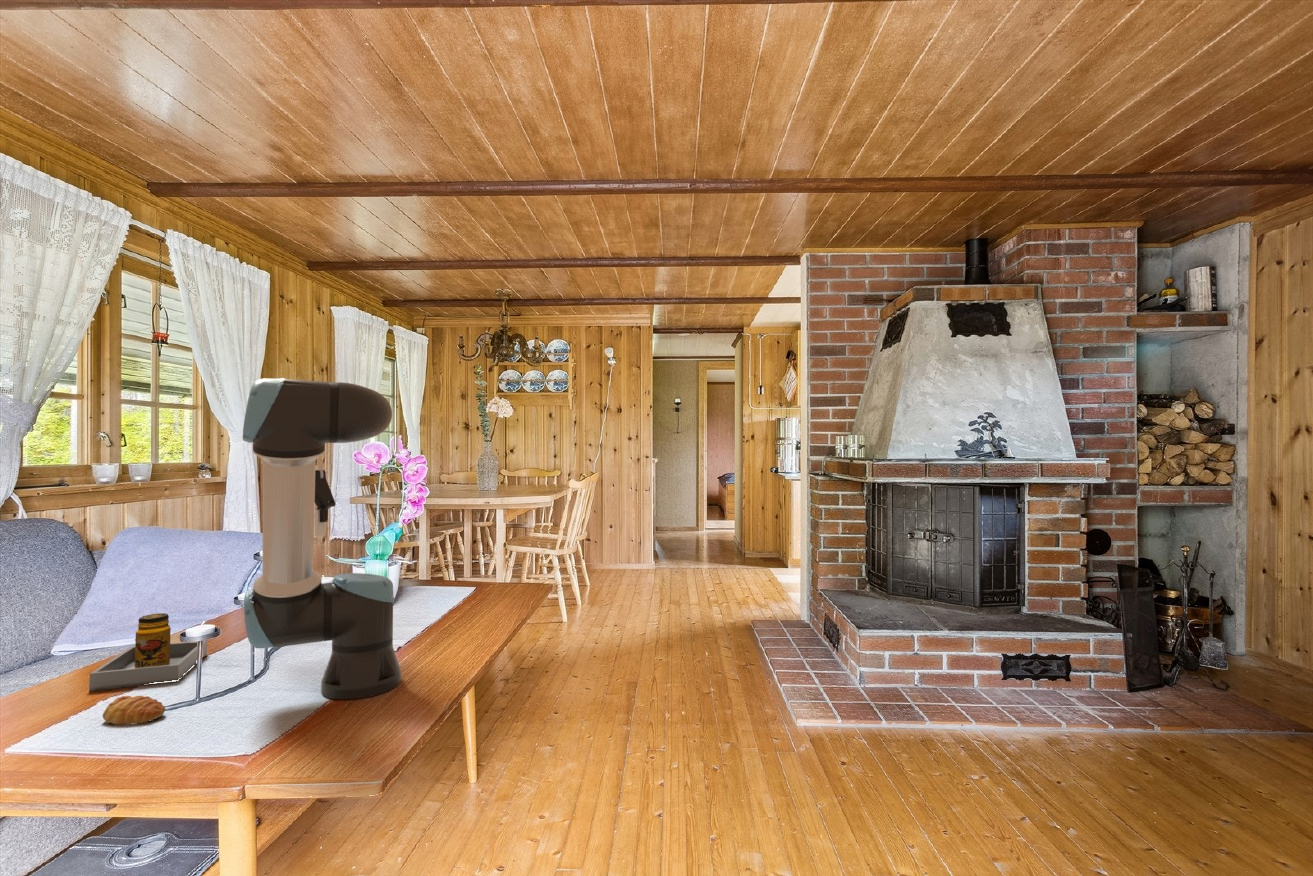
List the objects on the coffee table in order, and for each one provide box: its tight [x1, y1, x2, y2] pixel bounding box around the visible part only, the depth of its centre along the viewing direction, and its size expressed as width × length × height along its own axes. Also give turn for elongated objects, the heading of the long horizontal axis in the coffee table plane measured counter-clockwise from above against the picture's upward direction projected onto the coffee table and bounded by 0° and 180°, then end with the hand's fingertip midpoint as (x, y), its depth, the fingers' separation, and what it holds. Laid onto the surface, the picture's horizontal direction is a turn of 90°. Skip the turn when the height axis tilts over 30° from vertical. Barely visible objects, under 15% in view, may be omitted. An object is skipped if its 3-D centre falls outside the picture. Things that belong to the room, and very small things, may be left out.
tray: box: [88, 640, 208, 692], centre depth 136 cm, size 19×15×4 cm
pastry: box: [102, 695, 166, 725], centre depth 112 cm, size 9×7×4 cm
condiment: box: [128, 612, 173, 669], centre depth 136 cm, size 7×8×12 cm
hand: (298, 534), depth 154 cm, fingers open, 13 cm apart
